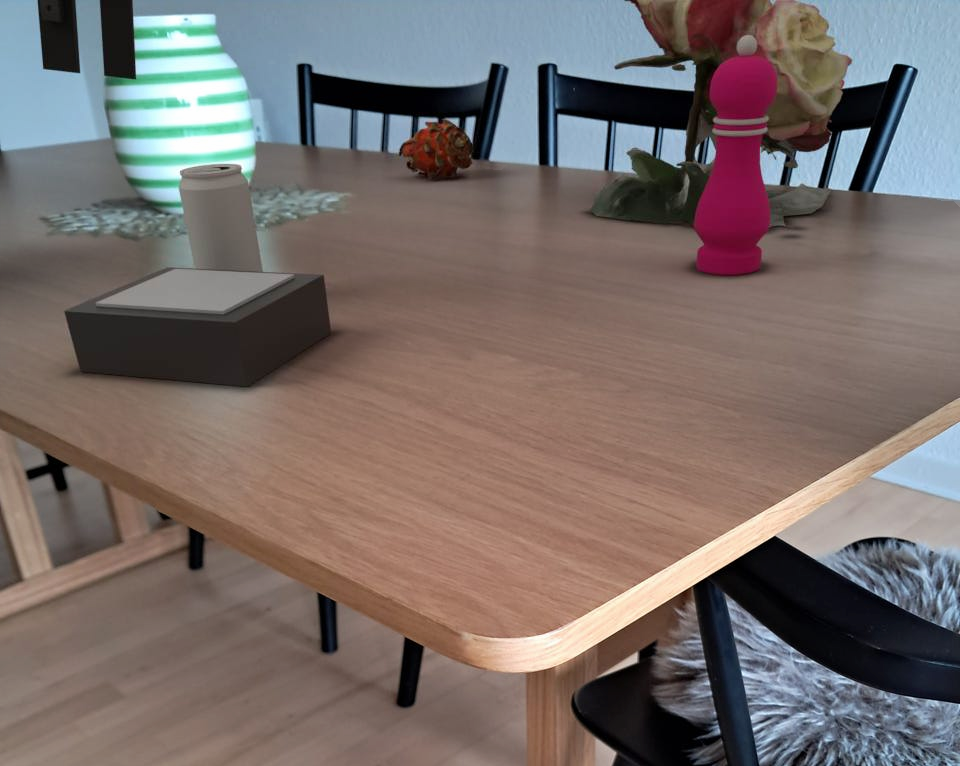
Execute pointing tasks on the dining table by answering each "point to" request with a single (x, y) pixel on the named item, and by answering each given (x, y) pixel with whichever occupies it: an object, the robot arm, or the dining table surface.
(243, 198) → the beverage can
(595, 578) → the dining table surface
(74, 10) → the robot arm
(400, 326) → the dining table surface
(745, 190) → the pepper mill
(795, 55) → the rose bouquet
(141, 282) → the cup warmer
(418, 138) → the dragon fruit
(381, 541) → the dining table surface
